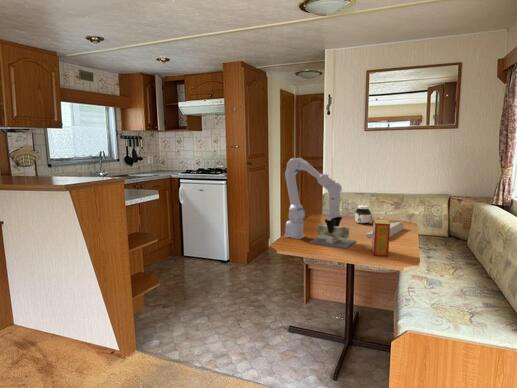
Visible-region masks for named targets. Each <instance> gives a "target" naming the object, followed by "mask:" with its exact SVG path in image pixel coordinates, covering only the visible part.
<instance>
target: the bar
mask: <svg viewBox="0 0 517 388" xmlns="http://www.w3.org/2000/svg"><path fill="white" fill-rule="evenodd" d="M317 235H318V236H321V235H323V236H329V237H330V236H332V237H338V238H343V239H348V238H349V236H350V227H344V226H339V227H338V226H334V230H333V233H329V232H328V228H327V224H323V223H321V224H318V225H317Z"/></svg>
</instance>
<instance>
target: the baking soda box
mask: <svg viewBox="0 0 517 388" xmlns="http://www.w3.org/2000/svg"><path fill="white" fill-rule="evenodd" d="M372 231H373V238H371V239H372V240H371V241H372V242H371V243H372V244H371V252H372V255H373V257H389V251H390V250H389V247H390V245H389V244H390V237H389V234H390V221H389V220H388V219H378V218H377V219H376V218H375V219H374V220H373V223H372Z"/></svg>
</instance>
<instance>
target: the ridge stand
mask: <svg viewBox="0 0 517 388" xmlns="http://www.w3.org/2000/svg"><path fill="white" fill-rule="evenodd" d="M356 241H357V240H356V239H348V238H347V239H345V238H338V237H332V236H325V235H318V237H315V238H314V239H312V240H310V241H309V243H310V244H315V245H321V246H328V247H334V248H339V249H344V250H345V249H348V248H349V247H350V246H352V245H353V244H355V243H356Z"/></svg>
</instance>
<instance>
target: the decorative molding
mask: <svg viewBox="0 0 517 388" xmlns="http://www.w3.org/2000/svg"><path fill="white" fill-rule="evenodd" d="M389 223H390V222H389ZM404 229H405V227H404V222H403V221H400V222H399V221H398V222H391V223H390V234H389V238H391V237H393V236H395V235H396V234H399V232H402V231H403V230H404ZM394 234H395V235H394ZM365 237H366V238H367V239H372V238H373V230H371V231H369V232H368V233H366V234H365Z"/></svg>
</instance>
